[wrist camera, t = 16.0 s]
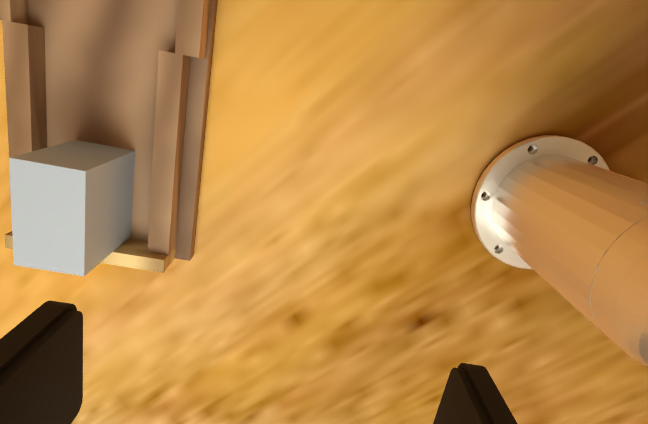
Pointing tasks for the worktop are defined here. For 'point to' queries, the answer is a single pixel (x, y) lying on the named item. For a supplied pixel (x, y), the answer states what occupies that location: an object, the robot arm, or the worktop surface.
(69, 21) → the board
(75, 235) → the panel block
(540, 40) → the worktop surface
